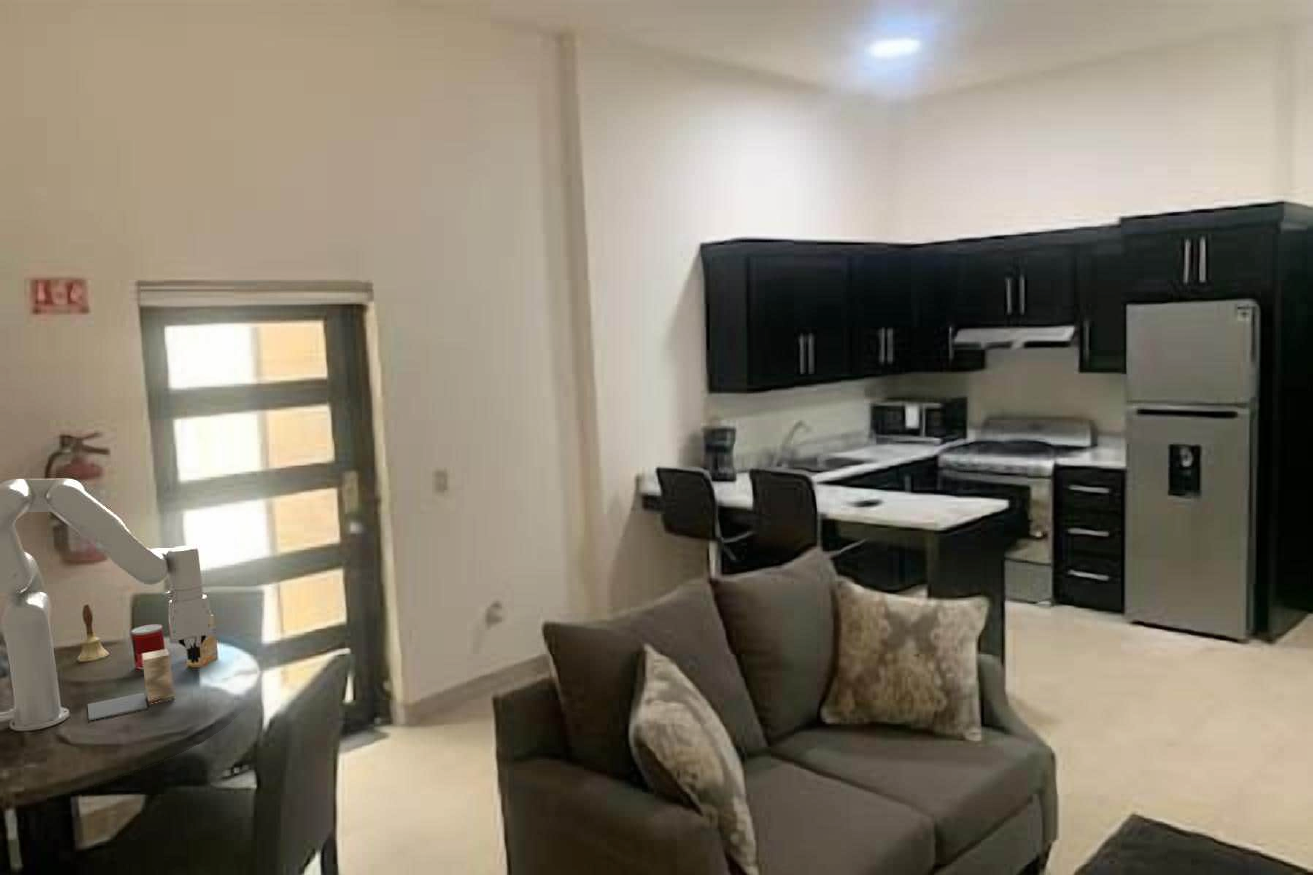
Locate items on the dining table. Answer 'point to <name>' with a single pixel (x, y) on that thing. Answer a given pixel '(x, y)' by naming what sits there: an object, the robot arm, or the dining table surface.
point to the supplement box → (205, 649)
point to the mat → (116, 706)
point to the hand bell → (90, 640)
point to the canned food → (146, 641)
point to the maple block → (158, 676)
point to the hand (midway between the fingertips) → (194, 660)
